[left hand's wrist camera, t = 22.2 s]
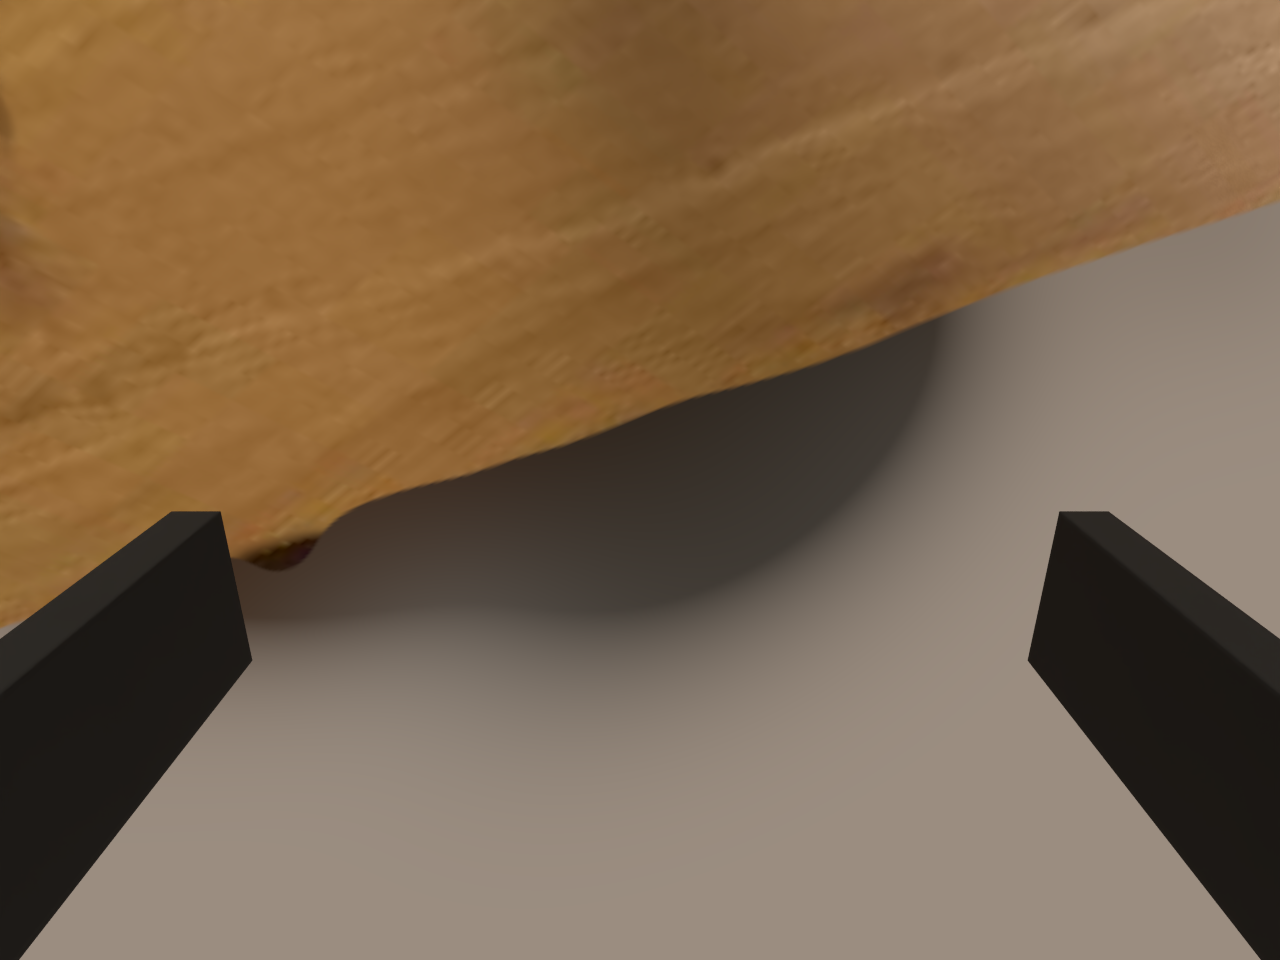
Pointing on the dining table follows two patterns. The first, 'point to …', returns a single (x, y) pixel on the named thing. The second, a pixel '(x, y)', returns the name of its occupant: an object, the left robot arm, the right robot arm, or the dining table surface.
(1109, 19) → the dining table surface
